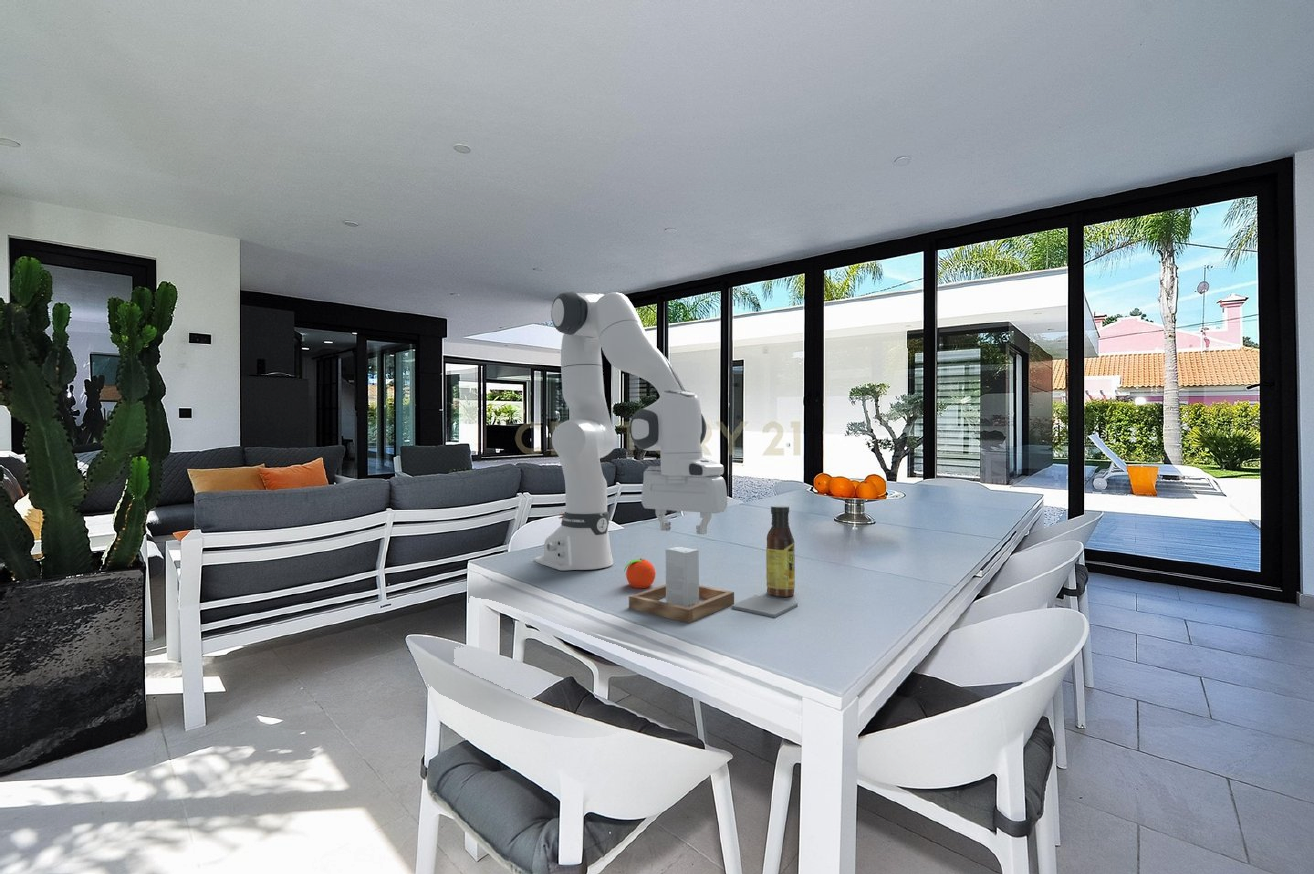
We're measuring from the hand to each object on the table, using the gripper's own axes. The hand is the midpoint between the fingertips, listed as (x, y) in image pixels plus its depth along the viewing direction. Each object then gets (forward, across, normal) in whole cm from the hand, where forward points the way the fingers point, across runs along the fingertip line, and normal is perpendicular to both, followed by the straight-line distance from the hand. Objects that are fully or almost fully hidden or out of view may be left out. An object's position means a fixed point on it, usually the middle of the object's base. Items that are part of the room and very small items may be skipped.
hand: (683, 532), depth 123 cm
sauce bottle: (+16, +11, +21) cm, 29 cm away
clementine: (+15, -17, +5) cm, 23 cm away
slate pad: (+16, +13, +10) cm, 23 cm away
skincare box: (+16, -1, 0) cm, 16 cm away
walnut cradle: (+16, -1, 0) cm, 16 cm away
